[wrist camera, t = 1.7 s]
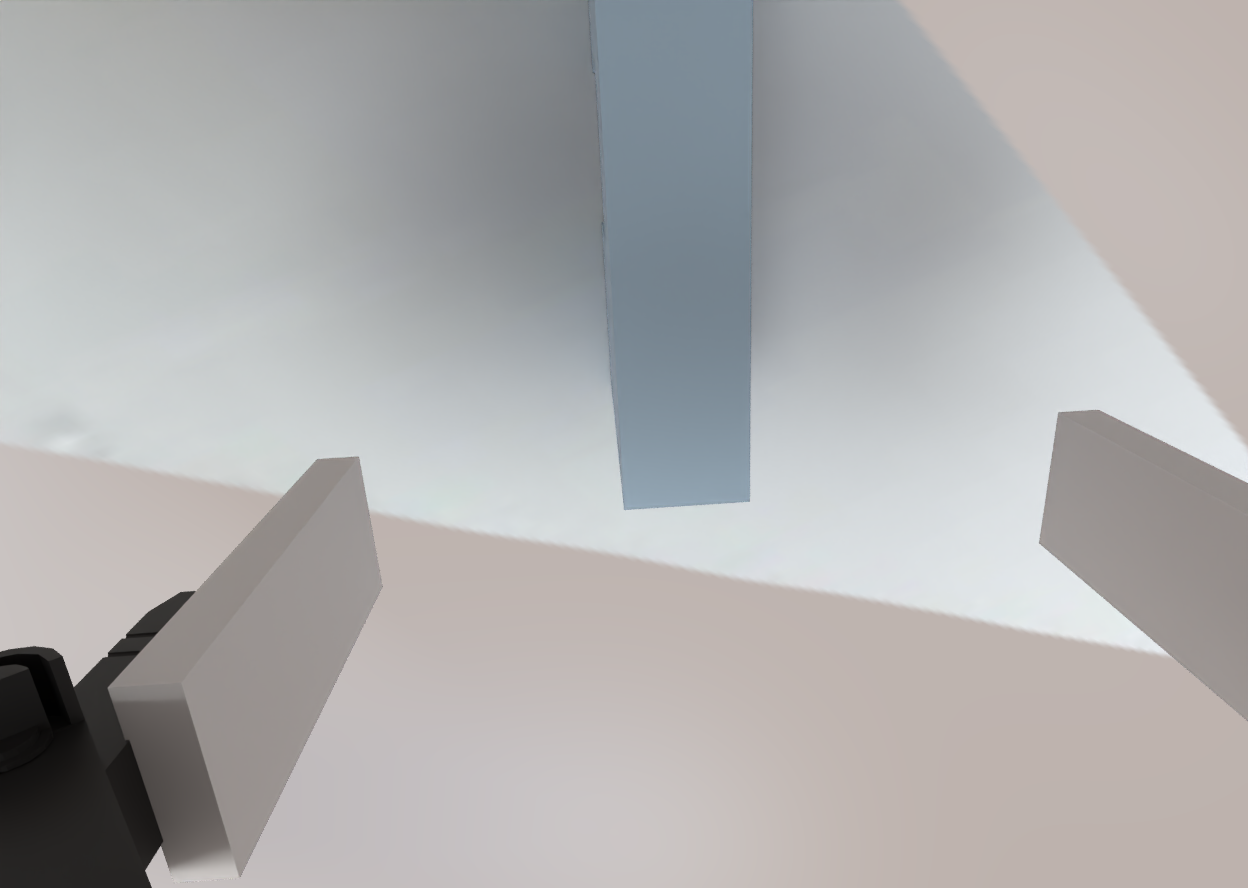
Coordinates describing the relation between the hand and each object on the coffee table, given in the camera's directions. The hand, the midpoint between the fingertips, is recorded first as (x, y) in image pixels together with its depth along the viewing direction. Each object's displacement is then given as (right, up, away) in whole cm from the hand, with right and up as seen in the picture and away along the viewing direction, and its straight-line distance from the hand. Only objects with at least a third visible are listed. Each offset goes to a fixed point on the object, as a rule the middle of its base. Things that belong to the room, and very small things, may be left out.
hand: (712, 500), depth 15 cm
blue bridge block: (-1, +11, +10) cm, 15 cm away
